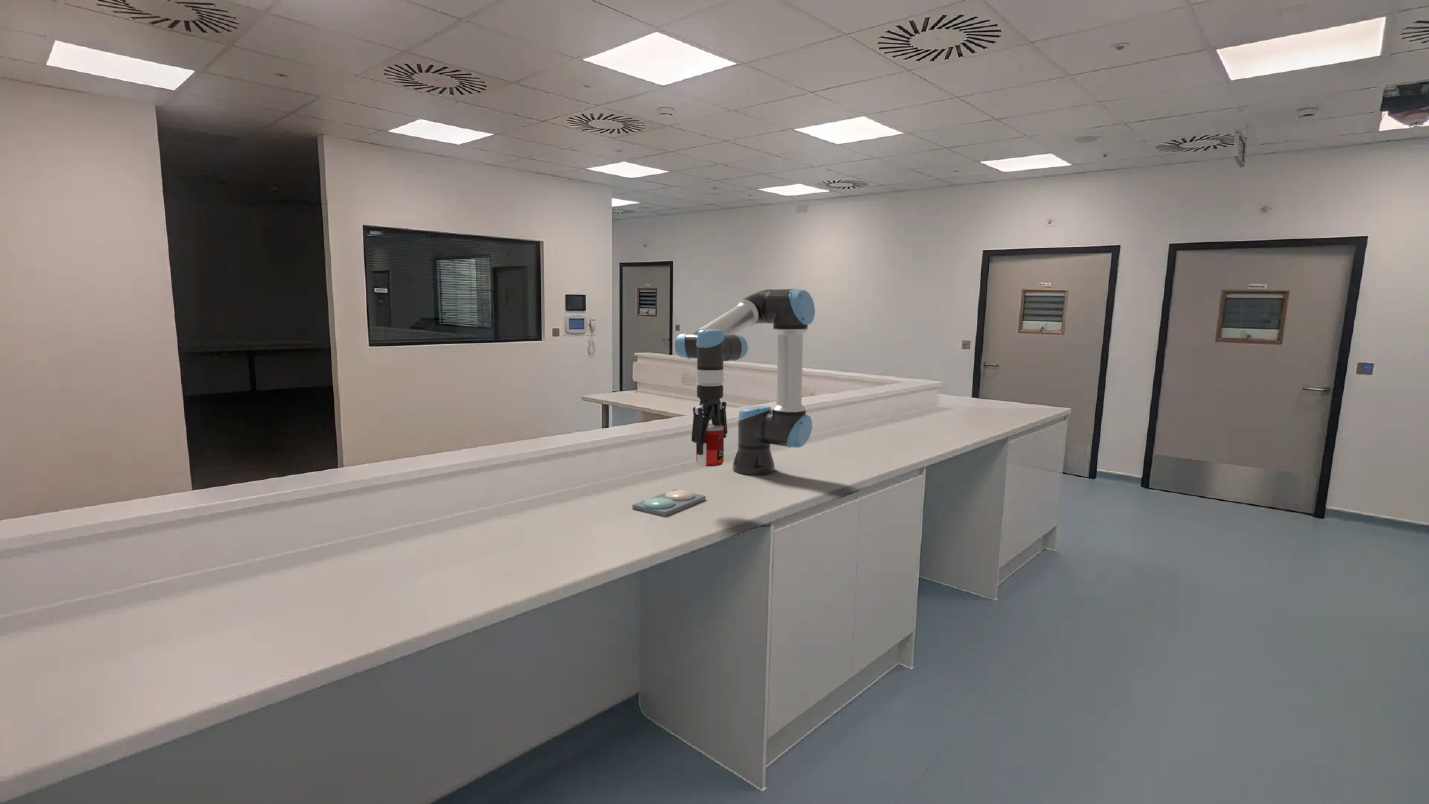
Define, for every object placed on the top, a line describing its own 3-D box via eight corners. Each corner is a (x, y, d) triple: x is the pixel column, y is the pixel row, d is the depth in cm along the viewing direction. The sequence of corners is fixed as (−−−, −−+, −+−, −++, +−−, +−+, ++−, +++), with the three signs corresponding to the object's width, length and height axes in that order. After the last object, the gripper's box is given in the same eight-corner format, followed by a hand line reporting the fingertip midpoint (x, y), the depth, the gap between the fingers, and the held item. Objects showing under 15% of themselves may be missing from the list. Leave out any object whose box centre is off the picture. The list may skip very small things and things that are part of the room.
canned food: (723, 466, 184) (723, 428, 182) (695, 466, 184) (695, 428, 183) (723, 460, 192) (724, 423, 190) (696, 460, 192) (696, 423, 190)
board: (674, 493, 205) (674, 487, 205) (705, 499, 199) (705, 494, 198) (632, 508, 189) (632, 502, 188) (665, 516, 182) (665, 510, 182)
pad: (657, 498, 196) (657, 496, 196) (681, 503, 191) (681, 501, 191) (637, 505, 188) (637, 503, 188) (661, 510, 183) (661, 508, 183)
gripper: (718, 379, 195) (718, 454, 198) (677, 387, 178) (678, 468, 182) (740, 381, 191) (739, 457, 194) (700, 389, 174) (700, 471, 177)
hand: (709, 462), depth 188 cm, fingers closed on canned food, 8 cm apart
